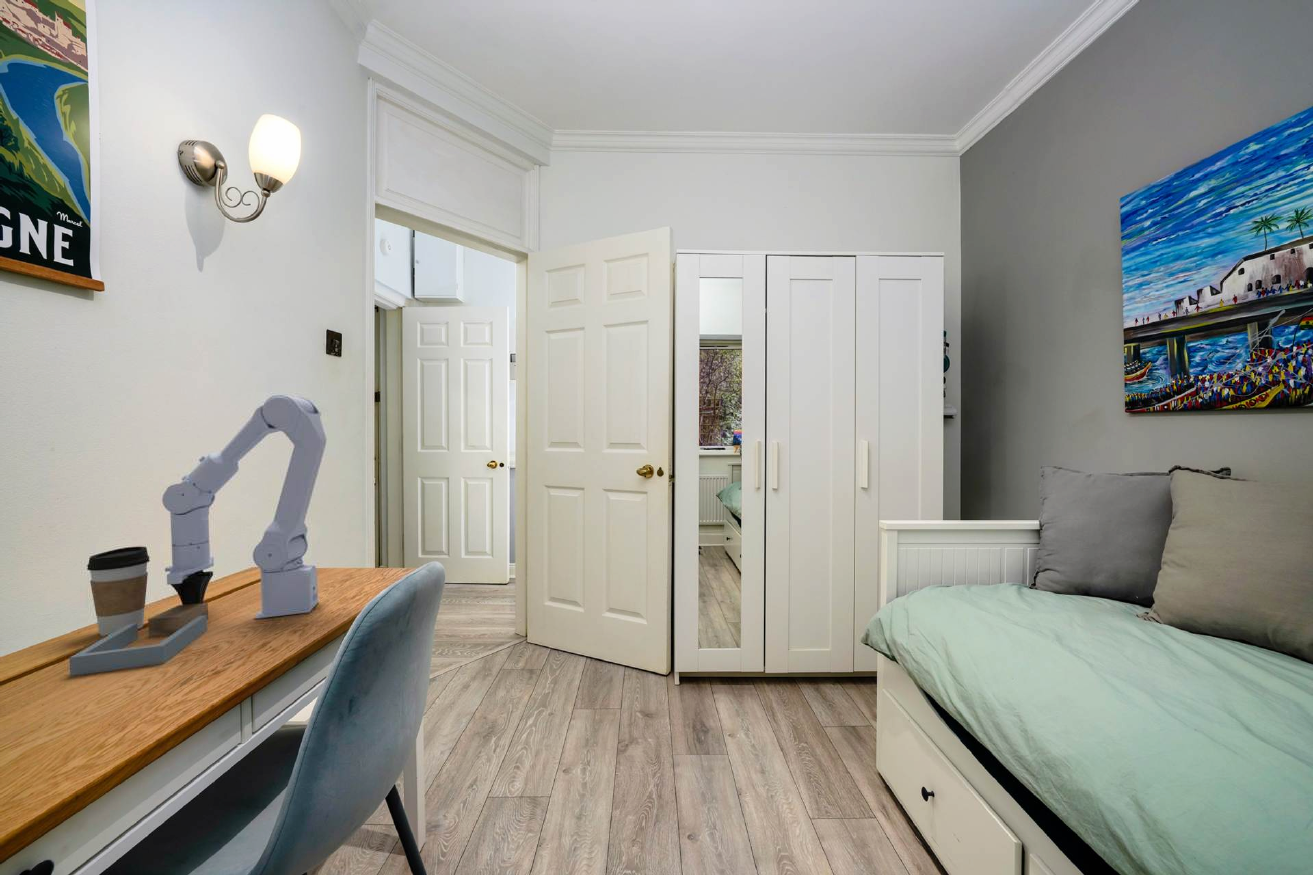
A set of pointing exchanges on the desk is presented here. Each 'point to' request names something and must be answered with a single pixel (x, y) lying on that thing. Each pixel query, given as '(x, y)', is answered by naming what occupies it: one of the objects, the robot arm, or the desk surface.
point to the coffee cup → (119, 587)
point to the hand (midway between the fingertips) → (193, 611)
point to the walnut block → (175, 618)
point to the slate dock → (133, 649)
